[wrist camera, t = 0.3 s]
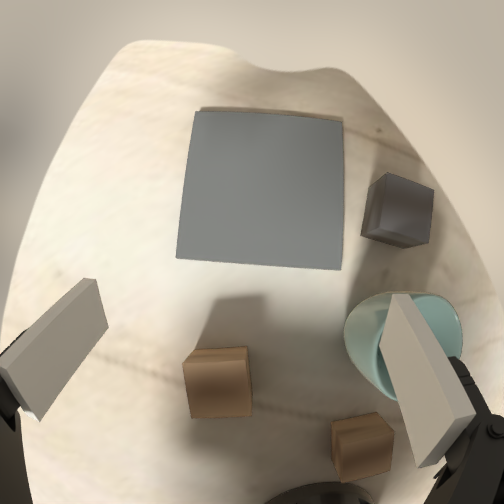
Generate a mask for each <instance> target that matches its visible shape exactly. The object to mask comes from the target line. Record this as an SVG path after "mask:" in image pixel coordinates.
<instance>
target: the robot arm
mask: <svg viewBox="0 0 504 504" xmlns="http://www.w3.org/2000/svg"><path fill="white" fill-rule="evenodd" d="M108 328H109V327H108V323H107V320H106V316H105V313H104V309H103V305H102V301H101V297H100V294H99V289H98V285H97V281H96V279H88V278H83V279H82V280H81V281H80V282H79V283H77V284H76V285H75V286H74V287H73V288H72V289H71V290H70V291H68V292H67V293H66V294H65V295H64V296H63V297H62V298H61V299H59V300H58V301H57V302H56V303H55V304H54V305H53V306H52V307H51V308H50V309H49V310H48V311H46V312H45V313H44V314H43V315H42V316H41V317H40V318H39V319H38V320H37V321H36V322H35V323H34V324H33V325H32V326H31V327H30V328H28V329H26V330H25V331H23V332H22V333H21V334H20V335H19V336H18V337H17V338H16V340H14V341H13V342H12V343H11V344H10V346H8V347H7V348H6V349H5V350H4V351H3V352H2V353H1V354H0V504H33V501H32V497H31V493H30V488H29V483H28V477H27V472H26V466H25V459H24V451H23V443H22V433H21V420H20V414H19V412H18V411H17V409H18V408H19V407H20V406H21V408H22V409H23V411H24V412H25V414H26V415H27V416H29V417H31V418H32V419H34V420H36V421H39V422H40V421H41V420H42V418H43V417H44V415H45V414H46V412H47V411H48V409H49V408H50V406H51V405H52V403H53V402H54V401H55V399H56V398H57V396H58V395H59V393H60V392H61V391H62V389H63V388H64V386H65V385H66V384H67V382H68V381H69V379H70V378H71V377H72V375H73V374H74V373H75V371H76V370H77V369H78V367H79V366H80V364H81V363H82V362H83V360H84V359H85V358H86V356H87V355H88V354H89V352H90V351H91V350H92V349H93V347H94V346H95V345H96V343H97V342H98V341H99V339H100V338H101V337H102V336H103V334H104V333H105V332H106V330H107V329H108ZM379 347H380V350H381V353H382V355H383V358H384V361H385V364H386V367H387V370H388V373H389V375H390V378H391V381H392V384H393V388H394V391H395V394H396V397H397V400H398V403H399V406H400V410H401V413H402V416H403V420H404V423H405V426H406V430H407V433H408V437H409V441H410V444H411V448H412V452H413V456H414V460H415V463H416V468H422V467H426V466H430V465H434V464H437V463H438V462H439V460H440V459H441V458H442V457H443V456H444V455H445V458H446V461H447V463H446V464H445V465H444V466H443V467H442V468H441V469H440V471H439V472H438V473H437V474H436V475H435V476H434V477H433V478H434V479H436V478H437V477H438V476H439V477H438V479H437V480H436V482H435V484H434V486H433V488H432V490H431V492H430V493H429V495H428V497H427V499H426V500H425V502H424V504H504V418H503V417H502V416H500V415H495V414H491V412H490V410H489V408H488V406H487V404H486V402H485V400H484V398H483V396H482V395H481V393H480V391H479V389H478V387H477V385H475V382H474V380H473V378H472V376H471V377H470V373H469V371H468V369H467V368H466V366H465V364H464V363H462V362H461V361H460V360H459V359H458V358H457V357H456V356H451V357H447V356H446V354H445V353H444V351H443V349H442V347H441V346H440V344H439V342H438V341H437V339H436V337H435V335H434V334H433V332H432V330H431V329H430V327H429V326H428V324H427V322H426V321H425V319H424V317H423V316H422V314H421V313H420V311H419V309H418V308H417V306H416V305H415V303H414V302H413V300H412V299H411V297H410V296H409V294H392V298H391V303H390V307H389V311H388V315H387V318H386V322H385V326H384V330H383V333H382V337H381V340H380V344H379ZM266 504H374V502H373V500H372V498H371V497H370V495H369V494H368V493H367V492H366V491H365V490H364V489H362V488H360V487H358V486H355V485H352V484H347V483H338V482H328V483H318V484H312V485H307V486H303V487H299V488H296V489H293V490H290V491H288V492H285V493H283V494H281V495H279V496H277V497H275V498H274V499H272V500H270V501H269V502H268V503H266Z"/></svg>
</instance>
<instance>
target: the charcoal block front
mask: <svg viewBox="0 0 504 504" xmlns="http://www.w3.org/2000/svg"><path fill="white" fill-rule="evenodd" d="M433 198H434V190H433V189H431V188H428V187H426V186H423V185H420V184H418V183H415V182H413V181H410V180H407V179H405V178H402V177H399V176H396V175H394V174H391V173H388V172H387V173H386V174H385V175H383V176H382V177H381V178H380V179H379V180H378V181H376V182H375V183H374V184H373V185H372V186H370V187H369V188H368V195H367V201H366V207H365V213H364V219H363V224H362V230H361V235H360V236H363V237H366V238H370V239H373V240H377V241H380V242H384V243H387V244H390V245H394V246H397V247H400V248H409V247H413V246H418V245H422V244H427V243H429V235H430V227H431V219H432V209H433Z"/></svg>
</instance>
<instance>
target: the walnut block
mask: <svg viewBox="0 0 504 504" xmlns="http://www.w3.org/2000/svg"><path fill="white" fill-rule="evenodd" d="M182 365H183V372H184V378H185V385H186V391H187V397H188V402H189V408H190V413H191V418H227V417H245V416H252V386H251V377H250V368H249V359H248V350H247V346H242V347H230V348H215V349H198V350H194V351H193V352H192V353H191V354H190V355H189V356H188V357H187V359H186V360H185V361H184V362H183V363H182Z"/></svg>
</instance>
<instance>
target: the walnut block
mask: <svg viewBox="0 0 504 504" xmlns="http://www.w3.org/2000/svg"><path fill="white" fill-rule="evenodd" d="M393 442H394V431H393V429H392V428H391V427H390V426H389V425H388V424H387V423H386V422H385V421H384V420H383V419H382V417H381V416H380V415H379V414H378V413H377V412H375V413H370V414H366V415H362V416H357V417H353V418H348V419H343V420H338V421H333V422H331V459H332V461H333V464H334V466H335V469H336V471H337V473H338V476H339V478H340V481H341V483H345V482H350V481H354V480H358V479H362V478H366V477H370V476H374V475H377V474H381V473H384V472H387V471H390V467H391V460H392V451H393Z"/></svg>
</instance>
